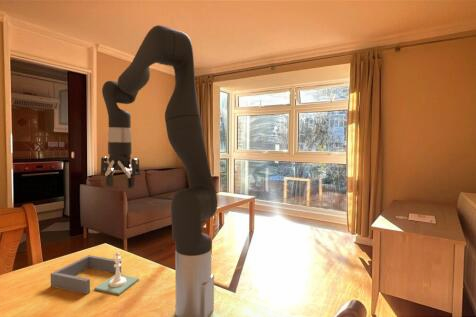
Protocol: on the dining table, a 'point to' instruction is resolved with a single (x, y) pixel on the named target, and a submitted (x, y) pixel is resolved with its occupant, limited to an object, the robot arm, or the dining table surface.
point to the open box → (67, 277)
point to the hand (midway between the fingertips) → (120, 187)
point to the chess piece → (117, 273)
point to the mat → (116, 290)
